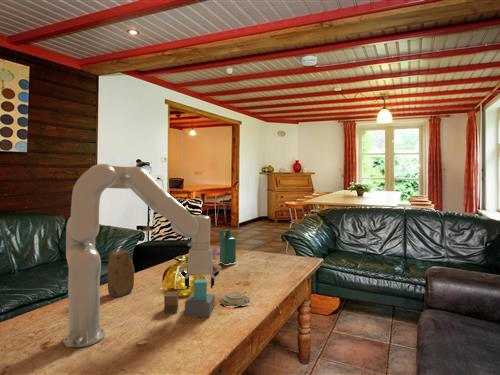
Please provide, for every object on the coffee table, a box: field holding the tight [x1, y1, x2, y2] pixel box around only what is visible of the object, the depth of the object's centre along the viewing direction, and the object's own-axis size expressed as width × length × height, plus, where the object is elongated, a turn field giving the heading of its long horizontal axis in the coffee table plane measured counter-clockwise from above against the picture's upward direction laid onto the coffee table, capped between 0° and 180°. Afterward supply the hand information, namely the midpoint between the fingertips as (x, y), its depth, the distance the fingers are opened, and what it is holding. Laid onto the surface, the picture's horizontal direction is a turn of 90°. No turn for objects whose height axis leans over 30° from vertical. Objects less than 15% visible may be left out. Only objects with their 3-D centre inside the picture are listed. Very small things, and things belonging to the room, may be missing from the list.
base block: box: [184, 292, 216, 318], centre depth 136 cm, size 10×10×6 cm
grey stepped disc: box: [218, 291, 251, 307], centre depth 147 cm, size 15×4×15 cm
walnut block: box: [163, 291, 179, 314], centre depth 136 cm, size 5×5×7 cm
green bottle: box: [218, 229, 237, 264], centre depth 209 cm, size 10×8×22 cm
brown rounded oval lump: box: [107, 249, 135, 298], centre depth 155 cm, size 11×8×20 cm
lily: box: [210, 244, 220, 261], centre depth 218 cm, size 12×12×10 cm
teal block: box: [193, 278, 208, 301], centre depth 135 cm, size 5×5×7 cm
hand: (199, 287), depth 135 cm, fingers open, 9 cm apart
